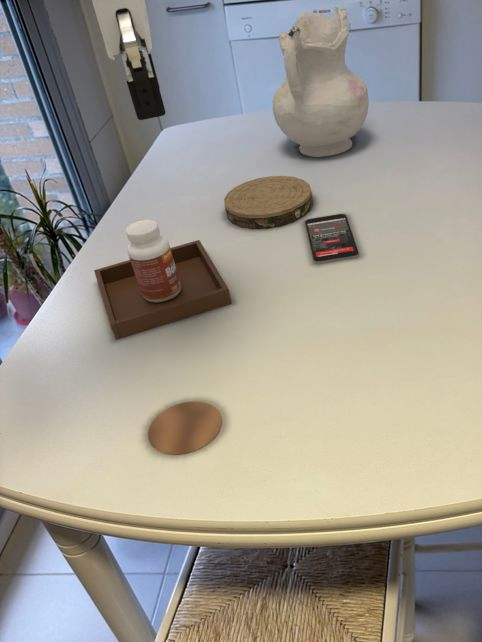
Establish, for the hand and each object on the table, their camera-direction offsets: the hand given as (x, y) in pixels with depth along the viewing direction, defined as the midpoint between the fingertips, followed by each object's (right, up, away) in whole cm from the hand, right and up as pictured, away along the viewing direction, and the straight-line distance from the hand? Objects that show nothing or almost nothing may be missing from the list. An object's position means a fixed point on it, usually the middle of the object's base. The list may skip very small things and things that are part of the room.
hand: (149, 104), depth 76 cm
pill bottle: (-4, -17, +25) cm, 31 cm away
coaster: (+4, -38, +2) cm, 39 cm away
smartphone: (+22, -7, +32) cm, 39 cm away
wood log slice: (+11, +2, +42) cm, 44 cm away
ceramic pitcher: (+21, +20, +60) cm, 67 cm away
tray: (-4, -17, +25) cm, 31 cm away
